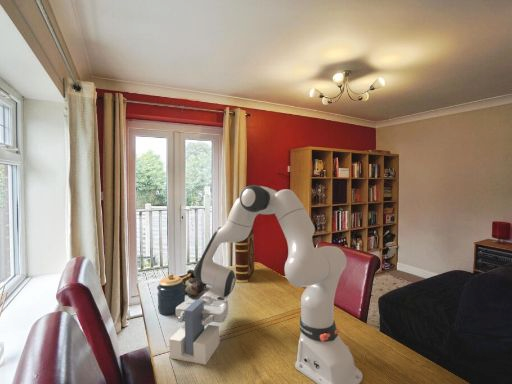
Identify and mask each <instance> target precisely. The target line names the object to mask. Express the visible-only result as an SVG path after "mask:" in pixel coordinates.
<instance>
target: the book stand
mask: <svg viewBox="0 0 512 384" xmlns="http://www.w3.org/2000/svg"><path fill="white" fill-rule="evenodd" d="M204 328H205V330H204V331H203V332H202V333H201V334H200V336H199V337H198V338H197V339H196V340H195V342H194V343H193V351H194V355H189V354H186V342H185V323H184V324H183V325H182V326H181V327H180V328H179V329H178V330H177V331H175V333H174V334H173V335H172V336H171V337H170V338H169V359H174V360H179V361H184V362H189V363H194V364H200V365H205V366H206V365H207V363H208V362H209V361H210V359H211V357H212V356H213V354H214V353H215V351H217V349H218V347H219V346H220V343H221V342H220V326H219V325H214V324H213V325H212V324H207V325H206V327H204Z"/></svg>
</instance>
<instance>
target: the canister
mask: <svg viewBox="0 0 512 384" xmlns="http://www.w3.org/2000/svg"><path fill="white" fill-rule="evenodd" d="M179 276H180V275H174V274H173V273H169V274H168V275H167V276H165V277H163V278H161V279H160V280H159V281H158V285H157V287H156V290H157V291H158V292H157V294H156V295H157V310H158V313H159V314H160V315H165V316H170V315H172V316H173V315H176V307H177V306H178V305H180V304H181V303H183V302H185V301H186V298H185V297H186V296H185V293H186V292H185V289H184V285H185V283H184V282H182V281H183V279H182V278H181V277H179Z"/></svg>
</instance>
